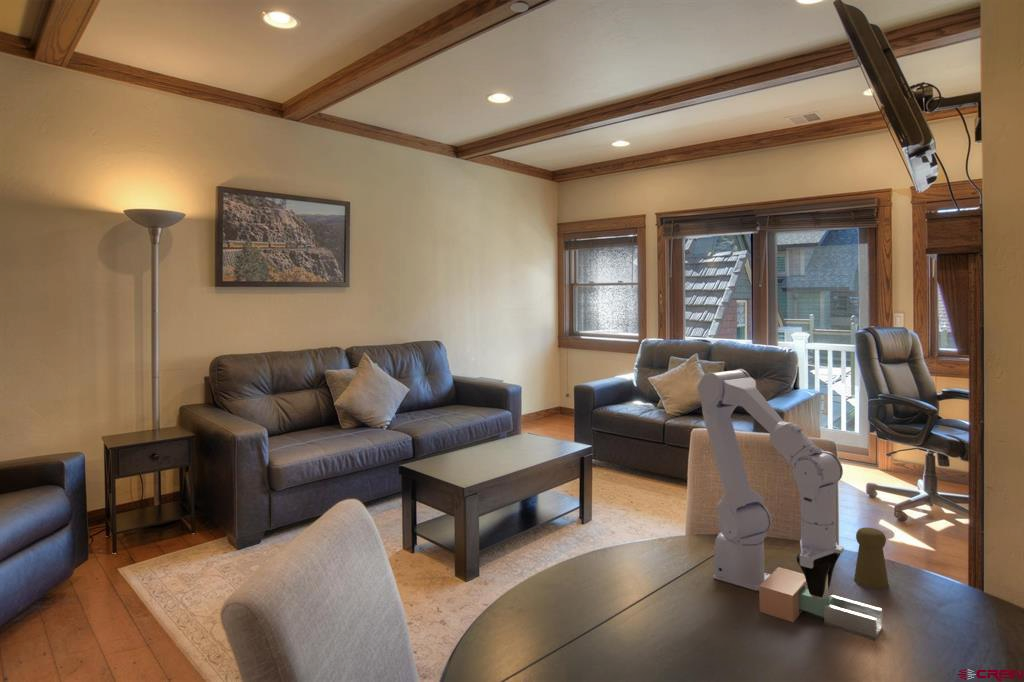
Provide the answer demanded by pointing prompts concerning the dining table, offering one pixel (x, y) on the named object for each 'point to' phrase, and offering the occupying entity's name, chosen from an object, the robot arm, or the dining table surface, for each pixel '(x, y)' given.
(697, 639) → the dining table surface
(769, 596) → the socket block
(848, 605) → the grey u-channel
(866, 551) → the cork
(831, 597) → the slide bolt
